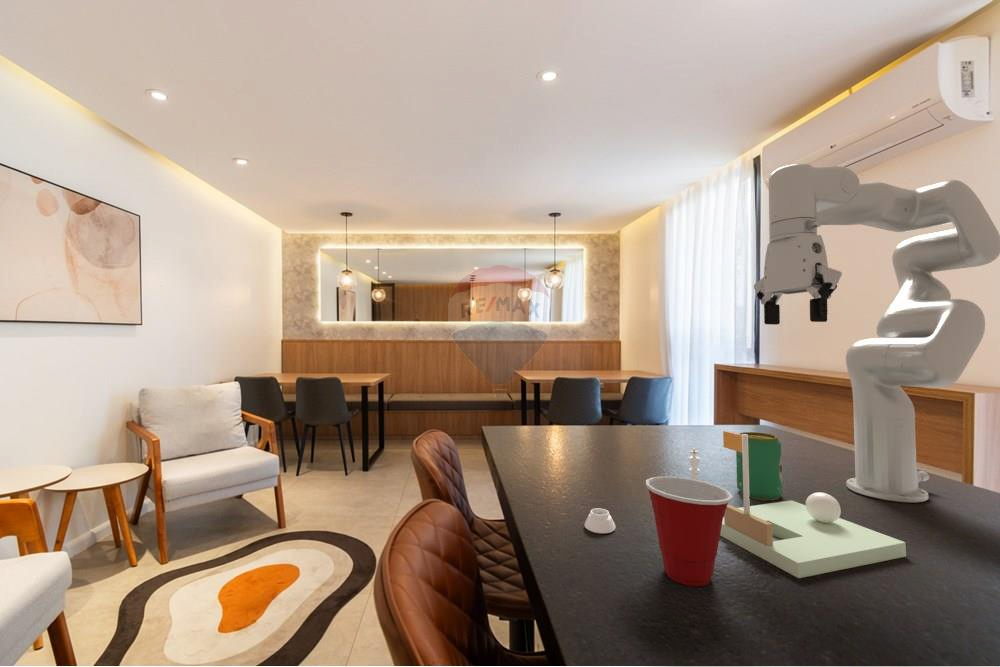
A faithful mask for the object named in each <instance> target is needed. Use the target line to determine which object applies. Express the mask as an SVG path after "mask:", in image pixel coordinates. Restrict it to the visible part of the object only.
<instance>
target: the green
mask: <svg viewBox="0 0 1000 667" xmlns="http://www.w3.org/2000/svg"><path fill="white" fill-rule="evenodd" d="M722 434H723V435H722V436H723V438H722V439H723V448H725V449H728V450H733V451H735V452H736V451H738V452H742V457H743V495H742V496H743V497H742V498H743V507H735V506H733V505H731V504H728V505H727V509H726V510H725V514H724V517H723V521H722V527H721V533H720V537H722V538H724V539H727V540H728V541H729V542H732V543H733V544H735V545H737V546H739V547H741V548H742V549H744V550H747V551H748V552H750V553H751V554H753V555H755V556H757V557H759V558H761V559H762V560H764V561H766V562H768V563H770V564H771V565H773V566H776V568H779V569H781V570H783V571H784V572H786V573H788V574H789V575H791V576H794V577H795V578H797V579H802V578H807V577H812V576H816V575H817V576H818V575H822V574H825V573H832V572H836V571H837V572H838V571H841V570H846V569H850V568H857V567H862V566H865V565H873V564H876V563H881V562H885V561H890V560H895V559H901V558H906V557H907V550H906V549H907V546H906V544H907V543H906V542H905V541H903V540H901V539H897V538H895V537H892V536H889V535H887V534H883V533H881V532H878V531H875V530H874V529H870V528H867V527H864V526H862V525H860V524H857V523H854V522H852V521H848V520H846V519H843V518H841V517H839V518H838V519H837V520H836V521H834V522H831V523H823V522H819V521H817V520H815V519H814V518H813V517H811V516H810V514H809V513H808V511H807V509H806V504H803V503H799V502H797V501H795V500H785V501H784V500H783V501H777V502H771V503H770V502H769V503H763V504H756V505H751V504H750V503H751V500H750V499H751V498H749V457H748V435H747V434H742V435H739V433H734V432H729V431H727V430H723V431H722Z"/></svg>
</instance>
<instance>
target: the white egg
mask: <svg viewBox="0 0 1000 667" xmlns="http://www.w3.org/2000/svg"><path fill="white" fill-rule="evenodd" d="M805 505H806V509H807V511H808V513H809V514H810V516H811V517H813V518H814V519H815V520H817V521H819V522H823V523H831V522H834V521H836V520H837V519H838V518H841V517H840V516H841V514H842V512H841V511H842V508H841V506H840V503H839V501H838V500H837V499H836V498H835V497H834V496H833V495H830V494H828V493H827V492H820V491H819V492H813V493H812V494H810V495H808V497H807V498H806V500H805Z"/></svg>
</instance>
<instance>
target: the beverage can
mask: <svg viewBox="0 0 1000 667" xmlns="http://www.w3.org/2000/svg"><path fill="white" fill-rule="evenodd" d="M738 434H739V435H742V434H747V435H748V457H749V497H750V499H753V498H754V499H753V500H759V501H767V500H771V501H777V500H780V498H781V496H782V494H783V467H782V466H783V465H782V463H783V462H782V460H783V459H782V443H781V442H780V440H779V439H778V436H777V435H774V434H771V433H767V432H757V431H744V432H739V433H738ZM735 454H736V456H735V457H736V461H735V462H736V487H737V490H738V491H739V494H740V495H742V496H743V457H742V452H738V451H735Z"/></svg>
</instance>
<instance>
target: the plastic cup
mask: <svg viewBox="0 0 1000 667" xmlns="http://www.w3.org/2000/svg"><path fill="white" fill-rule="evenodd" d="M645 485H646V488H647V489H648V491H649V492H648V493H649V495H650V497H649V498H650V500H651V507H652V509H653V514H654V521H655V527H656V533H657V538H658V539H657V540H658V544H659V550H660V551H661V558H662V565H663V569H664V571H665V575H666V576H667V577H668V578H669V579H671V580H672V581H675V583H678V584H681V585H684V586H690V587H691V586H692V587H703V586H706V585H709V584H710V582H711V581H712V578H713V576H714V570H715V562H716V558H717V555H718V549H719V544H720V538H721V536H720V533H721V527H722V521H723V517H724V514H725V510H726V509H727V505H729V504H730V502H731V501H732V500H733V497H734V496H733V495H732V494H731V492H730V491H728V490H726V489H725V488H722V487H721V486H719V485H715V484H711V483H709V482H704V481H700V480H698V481H697V480H692V479H690V478H684V477H679V476H678V477H676V476H655V477H654V476H653V477H650V478H647V479H646V480H645Z"/></svg>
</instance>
